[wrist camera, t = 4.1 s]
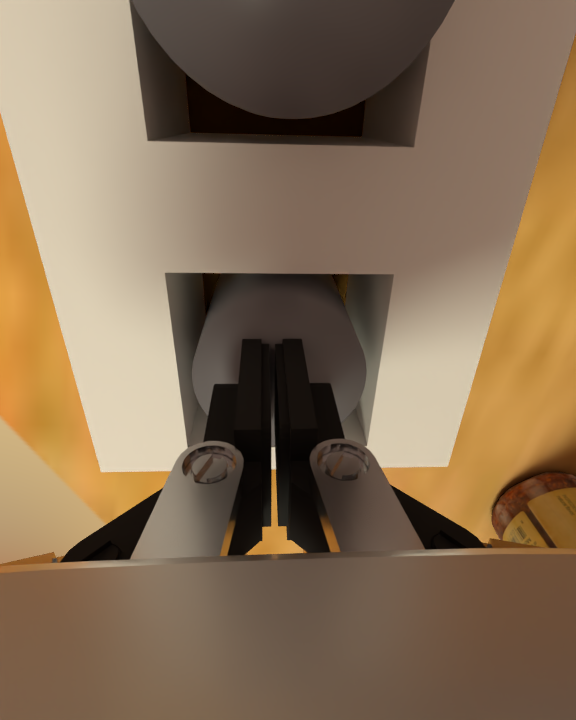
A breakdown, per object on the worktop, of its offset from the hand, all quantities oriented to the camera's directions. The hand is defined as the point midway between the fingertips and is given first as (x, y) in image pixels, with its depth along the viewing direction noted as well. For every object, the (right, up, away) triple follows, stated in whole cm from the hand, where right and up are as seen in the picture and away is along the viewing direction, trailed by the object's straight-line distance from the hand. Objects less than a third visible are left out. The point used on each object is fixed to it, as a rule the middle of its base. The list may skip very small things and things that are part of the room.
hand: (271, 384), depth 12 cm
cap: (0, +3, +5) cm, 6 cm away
